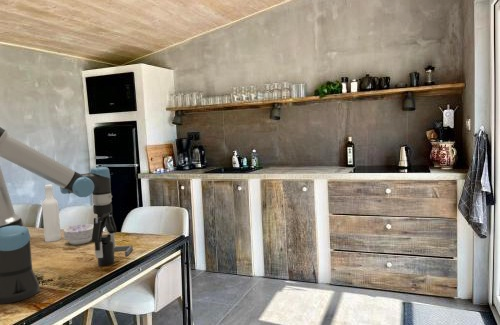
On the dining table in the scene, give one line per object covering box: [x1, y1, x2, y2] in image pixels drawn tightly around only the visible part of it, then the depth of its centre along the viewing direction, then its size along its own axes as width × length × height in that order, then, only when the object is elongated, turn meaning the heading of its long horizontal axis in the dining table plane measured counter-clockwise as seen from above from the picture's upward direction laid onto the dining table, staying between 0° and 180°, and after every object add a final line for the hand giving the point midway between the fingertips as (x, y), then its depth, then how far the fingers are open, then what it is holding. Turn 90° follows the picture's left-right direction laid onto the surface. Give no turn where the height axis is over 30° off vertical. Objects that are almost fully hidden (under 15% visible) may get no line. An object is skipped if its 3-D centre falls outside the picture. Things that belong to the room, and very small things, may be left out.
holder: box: [114, 245, 134, 257], centre depth 184 cm, size 19×18×3 cm
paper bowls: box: [63, 223, 94, 246], centre depth 202 cm, size 15×15×8 cm
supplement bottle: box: [97, 234, 115, 267], centre depth 166 cm, size 7×7×12 cm
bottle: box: [41, 184, 62, 243], centre depth 208 cm, size 8×8×30 cm
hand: (105, 252), depth 166 cm, fingers open, 13 cm apart
